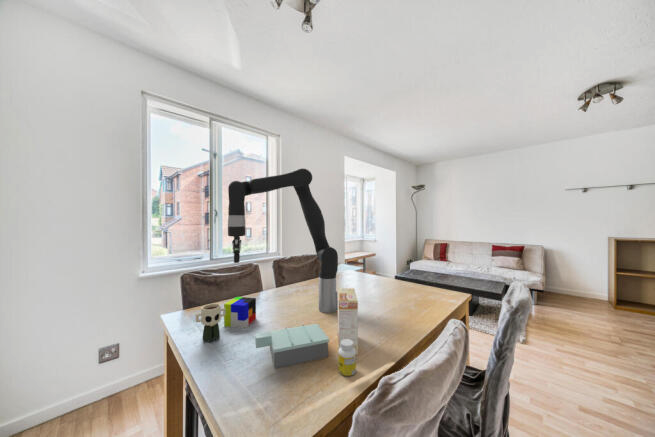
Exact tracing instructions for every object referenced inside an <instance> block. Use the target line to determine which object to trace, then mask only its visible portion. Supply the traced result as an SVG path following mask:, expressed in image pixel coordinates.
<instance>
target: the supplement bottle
mask: <svg viewBox="0 0 655 437" xmlns="http://www.w3.org/2000/svg"><path fill="white" fill-rule="evenodd" d="M338 373H339V375H341V376H342V377H345V378H351V377H354V376H355V375H356V373H357V354H356V351H355V349H354V348H353V341H352V340H350V339H343V340H342V341H341V347H340V349H339V350H338Z"/></svg>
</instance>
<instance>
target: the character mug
mask: <svg viewBox="0 0 655 437" xmlns="http://www.w3.org/2000/svg"><path fill="white" fill-rule="evenodd" d="M225 315H226V309H225V308H224V307H223V308H222V305H221V303H209V304H205V305H203V306H201V309H200V313H196V314H195V323H201V325H203V332H202V340H203V342H206V343H207V342H212V341H213V340H214V341H216V340H218V339H219V338H220V337H221V336H220V335H221V333H220V327H219V326H220V325H219V322H221V320H222V317H224V316H225ZM199 317H201V318H200V319H199Z"/></svg>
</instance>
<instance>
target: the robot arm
mask: <svg viewBox="0 0 655 437" xmlns="http://www.w3.org/2000/svg"><path fill="white" fill-rule="evenodd" d="M312 181H313V175H312V172H311V171H310V170H309V169H307V168H298V169H297V170H294V171H292V172H288V173H283V174H277V175H270V176H264V177H257V178H252V179H249V180H247V181H240V180H233V181H231V182H230V183H229V184H228V188H227V190H228V193H227V194H228V207H227V208H228V210H227V211H228V212H227V213H228V214H227V215H228V217H227V218H228V219H227V236H228V237H233V239H232V240H231V244H232V250H233V251H232V254H233V263H234V264H238V263H240V258H241V257H240V255H241V249H242V239H241V237H245V236H246V229H247V228H246V224H247V223H246V221H247V220H246V209H245V200H246V199H245V198H246V196H251V195H256V194H263V193H268V192H272V191H275V190H276V191H277V190H279V189H283V188H287V187H289V188H290V187H292V188H294V190H295V193H296V195H297V197H298V200H299V203H300V207H301V209H302V213H303V216H304V219H305V223H306V226H307V228H308V231H309V233H310V236H311V239H312V241H313V245H314V250H315V254H316V257H317V260H319V262H320V264H321V265H320V270H319V271H318V311H319V312H321V313H326V314H329V313H334V312H336V311H338V290H337V273H338V269H339V268H338V265H339V255H338V251H337V250H336V248H334V247H331V246H330V244H329V242H328V240H327V237H326V228H325V227H326V224H325V218H324V215H323V212H322V210H321V208H320V206H319V204H318V203H317V201H316V200H315V199H314V198H315V197H314V196H313V194H312V192H311V188H310V184H311V183H312Z"/></svg>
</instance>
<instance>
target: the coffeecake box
mask: <svg viewBox="0 0 655 437" xmlns="http://www.w3.org/2000/svg"><path fill="white" fill-rule="evenodd" d="M337 292H338V310H337V346H338V348H337V349H338V351H339V349H340V347H341V341H342V340H343V339H350V340H352V341H353V348H354V349H355V351H356V355H358V354H359V329H358V328H359V319H358V318H359V314H358V313H359V310H358V308H359V306H358V305H359V301H358V297H357V293H356V290H355V288H353V287H352V288H350V287H349V288H347V287H346V288H345V287H339V288H337Z"/></svg>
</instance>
